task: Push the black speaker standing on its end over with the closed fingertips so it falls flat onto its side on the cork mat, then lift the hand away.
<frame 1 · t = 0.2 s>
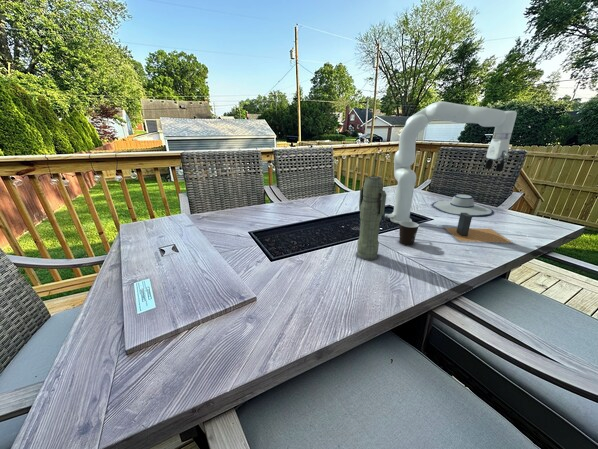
hand: (493, 169, 135), 31 cm above the table, tool pointing down, fingers open, 9 cm apart
coffee mug: (408, 242, 123), on the table
cork mat: (475, 235, 129), on the table
thermos: (367, 255, 111), on the table
black speaker: (461, 234, 130), resting on cork mat
sun hat: (460, 208, 174), on the table
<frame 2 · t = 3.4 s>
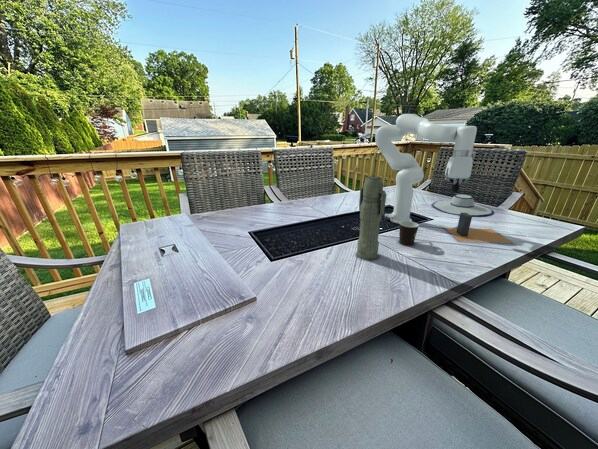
hand: (454, 191, 123), 23 cm above the table, tool pointing down, fingers closed
nothing on the table moved.
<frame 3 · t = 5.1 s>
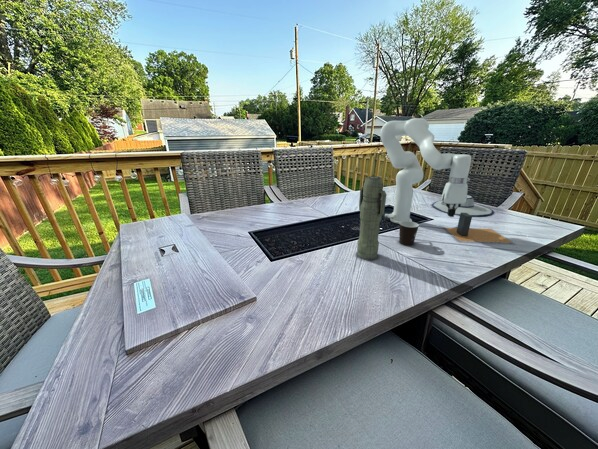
hand: (450, 216, 127), 10 cm above the table, tool pointing down, fingers closed
nothing on the table moved.
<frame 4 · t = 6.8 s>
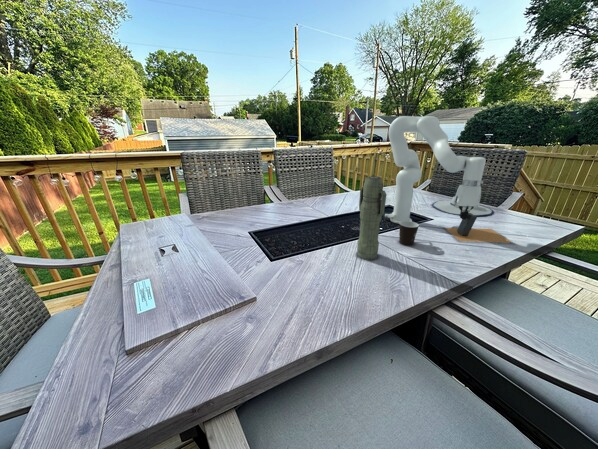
hand: (463, 218, 127), 9 cm above the table, tool pointing down, fingers closed
black speaker: (461, 233, 130), point 1 cm above the table, tilted 12°, touching cork mat
everything else where it was.
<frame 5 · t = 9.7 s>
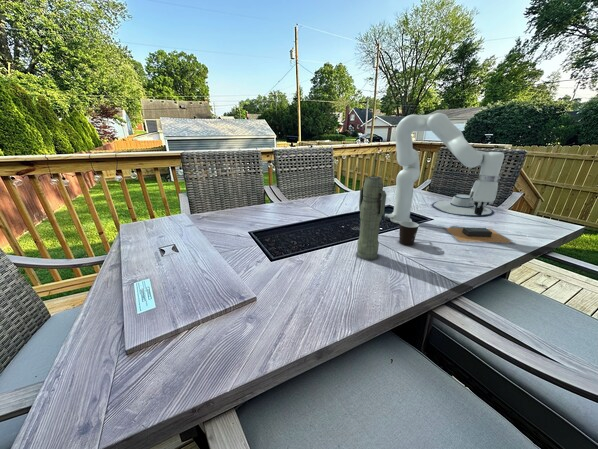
hand: (477, 214, 126), 12 cm above the table, tool pointing down, fingers closed
black speaker: (465, 231, 129), point 2 cm above the table, tilted 90°, touching cork mat
everything else where it was.
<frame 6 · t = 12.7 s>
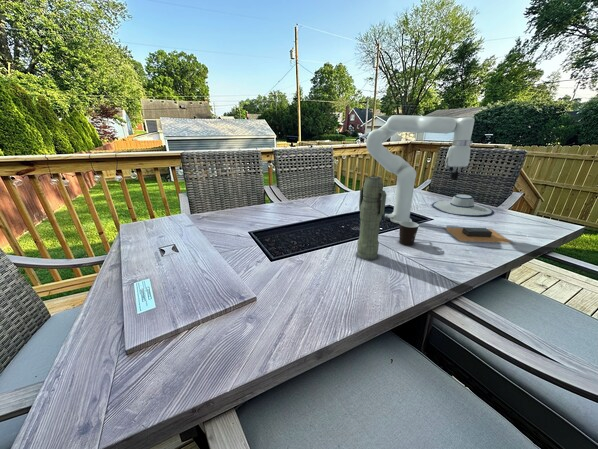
hand: (453, 179, 132), 27 cm above the table, tool pointing down, fingers closed
nothing on the table moved.
at the end: black speaker tilted 90°; black speaker inside the target area on the cork mat (5.5 cm from its centre), point 1.9 cm above the cork mat's base; the gripper is holding nothing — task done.
